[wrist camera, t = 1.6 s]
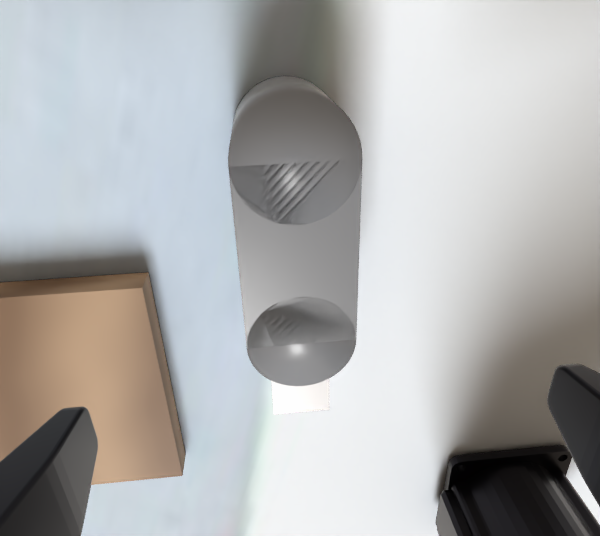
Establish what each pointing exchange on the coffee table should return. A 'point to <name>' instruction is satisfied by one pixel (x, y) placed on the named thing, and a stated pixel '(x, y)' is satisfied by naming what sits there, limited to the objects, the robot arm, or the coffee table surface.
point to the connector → (296, 236)
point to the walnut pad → (90, 370)
